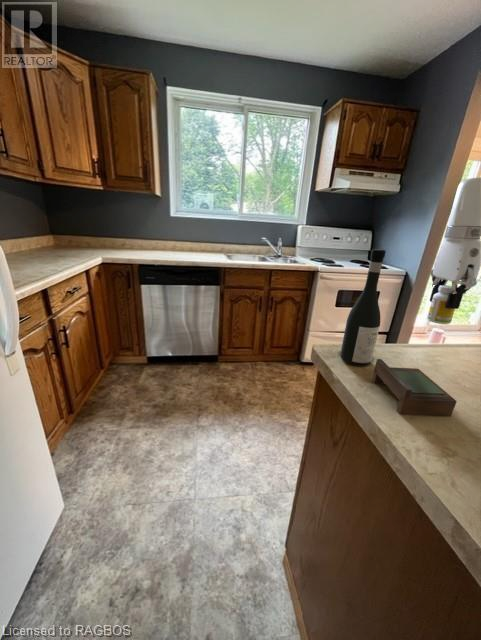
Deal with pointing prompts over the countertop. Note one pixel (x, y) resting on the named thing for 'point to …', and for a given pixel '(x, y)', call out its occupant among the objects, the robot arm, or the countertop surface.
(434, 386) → the wooden jewelry box
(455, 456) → the countertop surface
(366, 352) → the wine bottle
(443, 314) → the supplement bottle
